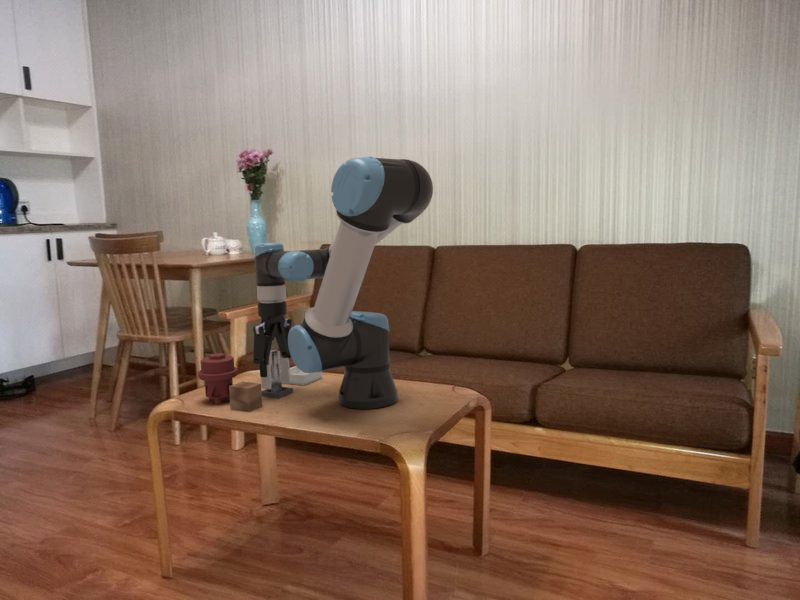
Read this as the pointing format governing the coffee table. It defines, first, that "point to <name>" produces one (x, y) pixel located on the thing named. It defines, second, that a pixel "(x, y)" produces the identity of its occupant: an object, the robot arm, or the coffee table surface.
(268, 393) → the socket
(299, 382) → the tray
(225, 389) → the mechanical component
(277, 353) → the pin
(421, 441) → the coffee table surface
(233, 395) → the block
